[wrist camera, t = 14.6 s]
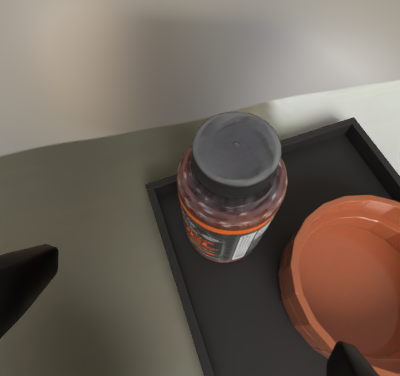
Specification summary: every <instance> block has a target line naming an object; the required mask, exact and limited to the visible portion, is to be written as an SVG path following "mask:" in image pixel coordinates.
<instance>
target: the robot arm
mask: <svg viewBox="0 0 400 376" xmlns="http://www.w3.org/2000/svg"><path fill="white" fill-rule="evenodd" d="M57 270H58V249H57V248H56V247H53V246H50V245H47V244H45V245H40V246H36V247H32V248H28V249H23V250H19V251H15V252H11V253H7V254H3V255H0V339H1V338H2V336H3V335H4V334H5V333H6V332H7V331H8V330H9V329H10V328H11V327H12V326H13V325H14V324H15V323H16V322H17V321H18V320H19V319H20V318H21V317H22V316H23V314H24V313H25V312H26V311H27V310H28V309H29V307H30V306H31V305H32V304H33V302H34V301H35V300H36V299H37V297H38V296H39V295H40V294H41V292H42V291H43V290H44V289H45V288H46V286H47V285H48V284H49V283H50V281H51V280H52V279H53V278H54V276H55V275H56V273H57ZM326 374H327V376H380V375H379V374H378V373H377V372H376V371H375V370H374V368H373V367H372V366H371V365H370V364H369V362H368V361H367V360H366V359H365V358H364V356H363V355H362V354H361V353H360V352H359V350H358V349H357V348H356V347H355V346H354V345H352V344H349V343H346V342H343V341H338V342H337V343H336V344H335V346H334V348H333V350H332V353H331V355H330V357H329V359H328V361H327V366H326Z"/></svg>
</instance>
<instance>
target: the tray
mask: <svg viewBox="0 0 400 376" xmlns="http://www.w3.org/2000/svg"><path fill="white" fill-rule="evenodd" d="M280 144H281V158H282V160H283V163H284V165H285V168H286V171H287V189H286V193H285V196H284V199H283V201H282V203H281V205H280V207H279V209H278V210H277V212H276V214H275V216H274V217H273V219H272V220H271V222H270V224H269V225H268V227H267V229H266V231H265V232H264V234H263V235H262V237H261V239H260V241H259V242H258V244H257V245H256V247H255V248H254V249H253V250H252V251H251V252H250V253H249V254H248V255H247V256H245V257H244V258H241V259H239V260H237V261H233V262H223V263H222V262H216V261H212V260H210V259H207V258H206V257H204V256H202V255H201V254H200V253H198V252H197V251H196V250H195V249H194V247H193V246H192V245H191V243H190V241H189V239H188V237H187V234H186V230H185V225H184V220H183V215H182V210H181V206H180V201H179V196H178V190H177V175H174V176H170V177H167V178H164V179H161V180H158V181H155V182H152V183H149V184H146V189H147V191H148V195H149V198H150V201H151V205H152V208H153V211H154V214H155V218H156V221H157V224H158V227H159V231H160V234H161V237H162V240H163V243H164V247H165V250H166V253H167V256H168V260H169V263H170V266H171V269H172V273H173V276H174V279H175V282H176V285H177V289H178V292H179V295H180V298H181V302H182V305H183V308H184V311H185V315H186V318H187V321H188V324H189V327H190V331H191V334H192V337H193V340H194V344H195V347H196V350H197V353H198V357H199V360H200V363H201V366H202V370H203V373H204V376H327V374H326V366H327V361H328V359H327V358H325V357H324V356H323V355H321V354H320V353H318V352H317V351H315V350H314V349H313V348H312V347H311V346H310V345H309V344H308V343H307V342H306V340H305V339H304V338H303V337H302V336H301V334H300V333H299V332H298V331H297V330H296V328H295V327H294V325H293V324H292V322H291V320H290V318H289V316H288V313H287V311H286V309H285V307H284V305H283V302H282V299H281V293H280V287H279V280H278V271H279V265H280V259H281V254H282V251H283V249H284V247H285V246H286V244H287V242H288V240H289V238H290V237H291V235H292V234H293V233H294V232H295V230H296V229H297V228H298V227H299V226H300V224H301V223H302V222H303V221H304V220H305V219H306V218H307V217H308V216H309V215H310V214H311V213H313V212H314V211H315V210H316V209H317V208H319V207H320V206H321V205H322V204H324V203H327V202H329V201H332V200H335V199H338V198H340V197H343V196H354V195H373V196H377V197H381V198H386V199H390V200H394V201H397V202H399V203H400V176H399V175H398V173H397V172H396V171H395V170H394V168H393V167H392V166H391V164H390V163H389V162H388V161H387V159H386V158H385V157H384V155H383V154H382V153H381V152H380V150H379V149H378V148H377V146H376V145H375V144H374V143H373V141H372V140H371V139H370V137H369V136H368V135H367V134H366V132H365V131H364V130H363V128H362V127H361V126H360V125H359V123H357V121H356V119H355V118H354V117H353V118H350V119H347V120H344V121H341V122H338V123H335V124H332V125H328V126H325V127H322V128H319V129H316V130H313V131H310V132H307V133H304V134H301V135H297V136H294V137H291V138H288V139H285V140H282V141H280Z"/></svg>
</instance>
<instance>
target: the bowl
mask: <svg viewBox="0 0 400 376" xmlns="http://www.w3.org/2000/svg"><path fill="white" fill-rule="evenodd" d="M278 280H279V287H280V293H281V299H282V302H283V305H284V307H285V309H286V311H287V313H288V316H289V318H290V320H291V322H292V324H293V325H294V327H295V328H296V330H297V331H298V332H299V333H300V334H301V336H302V337H303V338H304V339H305V340H306V342H307V343H308V344H309V345H310V346H311V347H312V348H313V349H314V350H315V351H317V352H318V353H320V354H321V355H323V356H324V357H325V358H327V359H329V357H330V355H331V353H332V350H333V348H334V346H335V344H336V343H337V342H338V341H343V342H346V343H349V344H352V345H354V346H355V347H356V348H357V349H358V350H359V352H360V353H361V354H362V355H363V356H364V358H365V359H366V360H367V361H368V362H369V364H370V365H371V366H372V367H373V368H374V370H375V371H376V372H377V373H378V374H379V375H380V376H400V203H399V202H397V201H394V200H390V199H386V198H381V197H377V196H373V195H354V196H343V197H340V198H338V199H335V200H332V201H329V202H327V203H324V204H322V205H321V206H320V207H319V208H317V209H316V210H315V211H314V212H313V213H311V214H310V215H309V216H308V217H307V218H306V219H305V220H304V221H303V222H302V223H301V224H300V226H299V227H298V228H297V229H296V230H295V232H294V233H293V234H292V235H291V237H290V238H289V240H288V242H287V244H286V246H285V247H284V249H283V251H282V254H281V259H280V265H279V271H278Z"/></svg>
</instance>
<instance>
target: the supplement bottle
mask: <svg viewBox="0 0 400 376" xmlns="http://www.w3.org/2000/svg"><path fill="white" fill-rule="evenodd" d="M286 189H287V171H286V168H285V165H284V163H283V160H282V158H281V144H280V140H279V137H278V135H277V133H276V131H275V130H274V129H273V127H272V126H270V125H269V123H267V122H266V121H265V120H263V119H261V118H259V117H258V116H255V115H253V114H250V113H245V112H226V113H221V114H218V115H216V116H213V117H211V118H210V119H208V120H207V121H206V122H204V123H203V124H202V125H201V126H200V127H199V129H198V131H197V132H196V134H195V136H194V139H193V143H192V145H191V146H190V147H189V148H188V149H187V150H186V151H185V153H184V154H183V156H182V158H181V160H180V163H179V166H178V169H177V190H178V196H179V201H180V206H181V210H182V215H183V220H184V225H185V230H186V234H187V237H188V239H189V241H190V243H191V245H192V246H193V247H194V249H195V250H196V251H197V252H198V253H200V254H201V255H202V256H204V257H206V258H207V259H210V260H212V261H216V262H222V263H223V262H233V261H237V260H239V259H241V258H244V257H245V256H247V255H248V254H249V253H250V252H251V251H252V250H253V249H254V248H255V247H256V245H257V244H258V242H259V241H260V239H261V237H262V235H263V234H264V232H265V231H266V229H267V227H268V225H269V224H270V222H271V220H272V219H273V217H274V216H275V214H276V212H277V210H278V209H279V207H280V205H281V203H282V201H283V199H284V196H285V193H286Z"/></svg>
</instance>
